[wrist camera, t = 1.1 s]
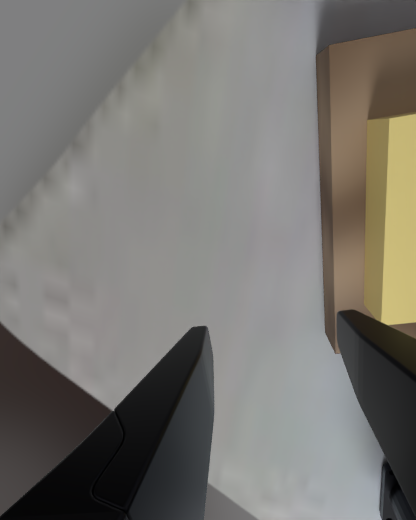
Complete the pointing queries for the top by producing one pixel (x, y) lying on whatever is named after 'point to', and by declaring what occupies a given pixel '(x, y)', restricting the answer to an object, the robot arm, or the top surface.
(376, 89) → the cutting block
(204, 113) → the top surface
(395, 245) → the butter block
